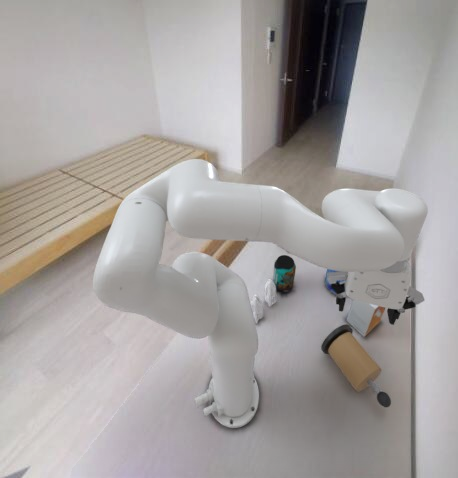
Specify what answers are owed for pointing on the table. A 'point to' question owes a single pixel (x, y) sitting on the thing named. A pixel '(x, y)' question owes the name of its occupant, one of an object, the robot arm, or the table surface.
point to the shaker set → (269, 298)
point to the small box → (364, 316)
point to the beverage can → (284, 274)
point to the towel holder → (354, 361)
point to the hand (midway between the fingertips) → (364, 311)
